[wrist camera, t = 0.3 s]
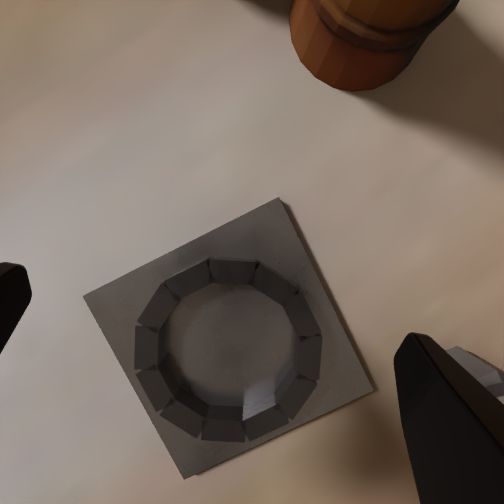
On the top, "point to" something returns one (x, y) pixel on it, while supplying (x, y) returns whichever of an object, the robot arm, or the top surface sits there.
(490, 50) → the top surface
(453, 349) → the domed button housing
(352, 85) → the binoculars
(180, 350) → the barrel plate
